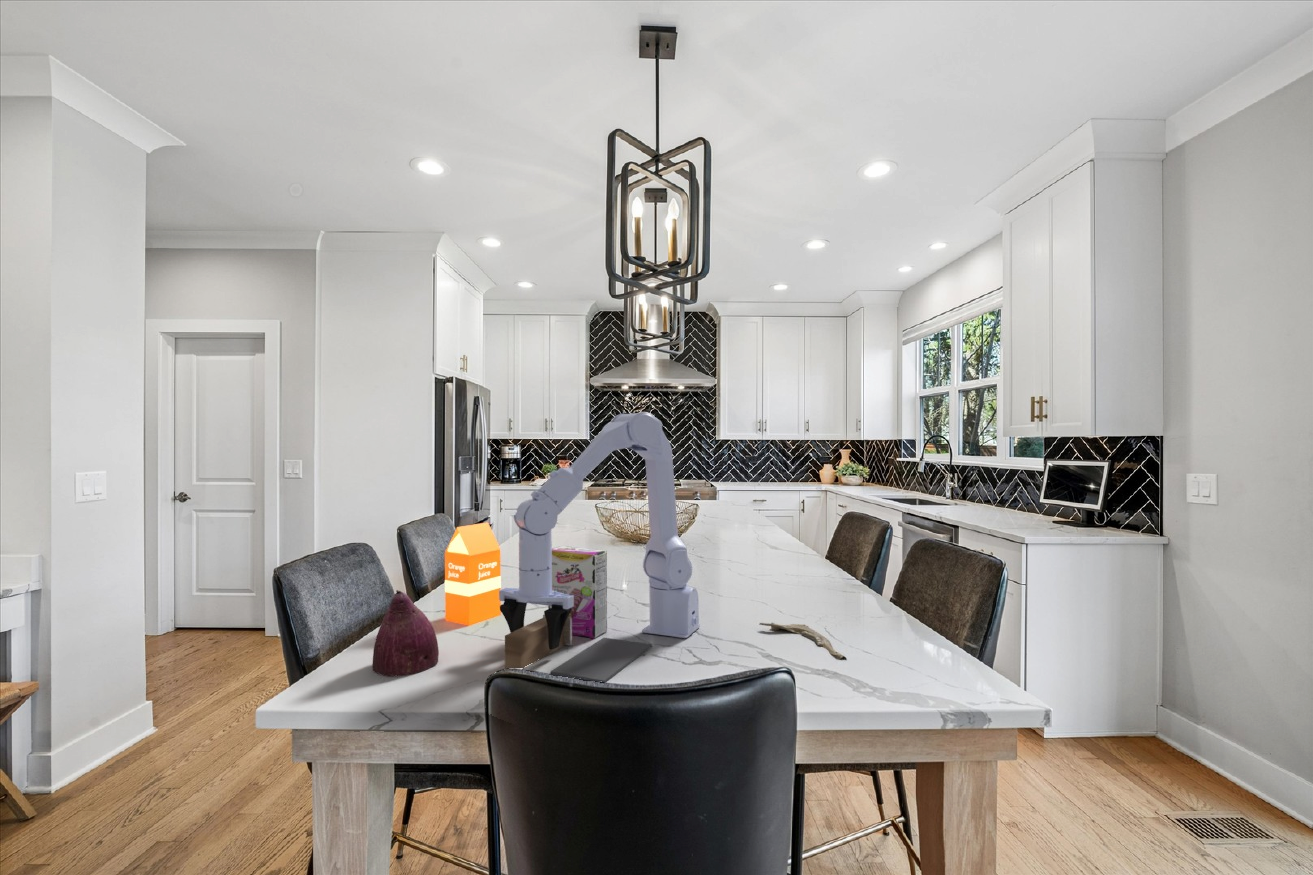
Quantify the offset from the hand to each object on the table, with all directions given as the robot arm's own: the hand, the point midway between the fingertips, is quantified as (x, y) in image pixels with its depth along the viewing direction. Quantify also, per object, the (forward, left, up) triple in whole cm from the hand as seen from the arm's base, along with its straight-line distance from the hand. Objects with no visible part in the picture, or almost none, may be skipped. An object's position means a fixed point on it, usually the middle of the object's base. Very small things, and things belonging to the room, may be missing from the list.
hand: (535, 644), depth 106 cm
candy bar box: (0, -14, -2) cm, 14 cm away
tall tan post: (0, 0, -2) cm, 2 cm away
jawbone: (-42, -25, -3) cm, 48 cm away
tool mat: (-12, -3, -2) cm, 12 cm away
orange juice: (+26, -14, -2) cm, 30 cm away
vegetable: (+18, +12, -2) cm, 22 cm away
